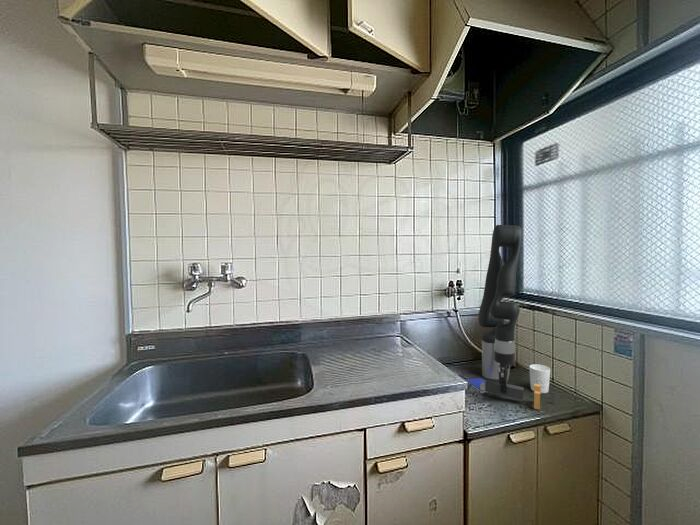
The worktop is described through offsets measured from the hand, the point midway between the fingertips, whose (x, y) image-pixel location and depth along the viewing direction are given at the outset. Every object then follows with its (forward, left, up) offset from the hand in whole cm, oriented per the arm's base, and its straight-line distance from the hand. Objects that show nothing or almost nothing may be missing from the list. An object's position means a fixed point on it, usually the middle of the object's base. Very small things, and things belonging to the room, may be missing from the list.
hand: (503, 391), depth 137 cm
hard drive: (-10, -10, -4) cm, 15 cm away
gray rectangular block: (0, 0, -1) cm, 1 cm away
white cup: (-17, +13, -4) cm, 21 cm away
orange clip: (0, +12, -4) cm, 12 cm away
